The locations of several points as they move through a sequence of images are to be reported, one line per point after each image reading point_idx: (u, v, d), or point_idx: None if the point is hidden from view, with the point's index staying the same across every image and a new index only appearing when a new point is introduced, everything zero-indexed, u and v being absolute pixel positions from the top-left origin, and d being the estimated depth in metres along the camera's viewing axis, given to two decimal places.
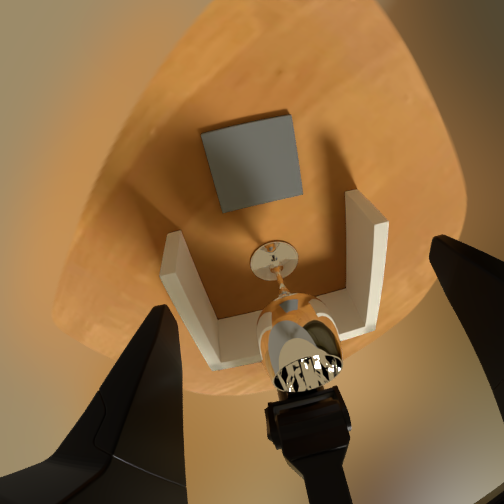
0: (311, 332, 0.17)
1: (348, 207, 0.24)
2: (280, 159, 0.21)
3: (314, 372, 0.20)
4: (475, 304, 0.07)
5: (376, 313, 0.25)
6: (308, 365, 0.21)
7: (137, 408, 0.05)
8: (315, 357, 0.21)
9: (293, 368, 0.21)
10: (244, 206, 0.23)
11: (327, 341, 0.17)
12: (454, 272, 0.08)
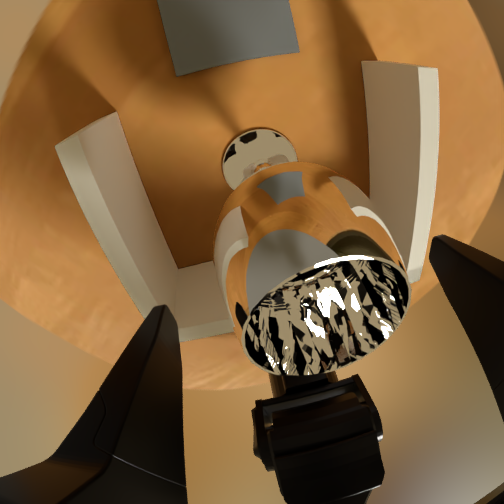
0: (336, 207, 0.07)
1: (369, 80, 0.14)
2: (262, 1, 0.11)
3: (338, 334, 0.10)
4: (475, 304, 0.07)
5: (424, 247, 0.15)
6: (324, 322, 0.11)
7: (137, 408, 0.05)
8: (337, 306, 0.11)
9: (293, 329, 0.11)
10: (209, 65, 0.13)
11: (377, 231, 0.07)
12: (454, 272, 0.08)
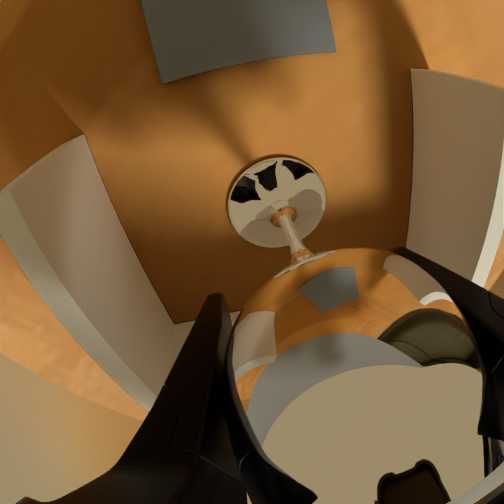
0: (452, 393, 0.03)
1: (421, 95, 0.10)
2: None
3: None
4: None
5: None
6: None
7: (213, 400, 0.05)
8: None
9: None
10: (209, 67, 0.09)
11: (494, 412, 0.03)
12: None
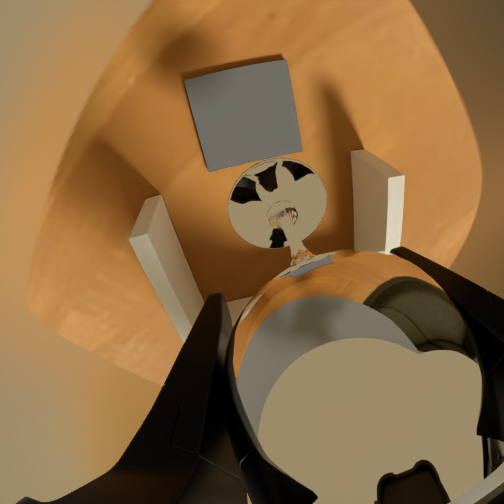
0: (452, 395, 0.03)
1: (355, 169, 0.20)
2: (274, 109, 0.17)
3: None
4: None
5: None
6: None
7: (213, 400, 0.05)
8: None
9: None
10: (234, 164, 0.19)
11: (493, 414, 0.03)
12: None
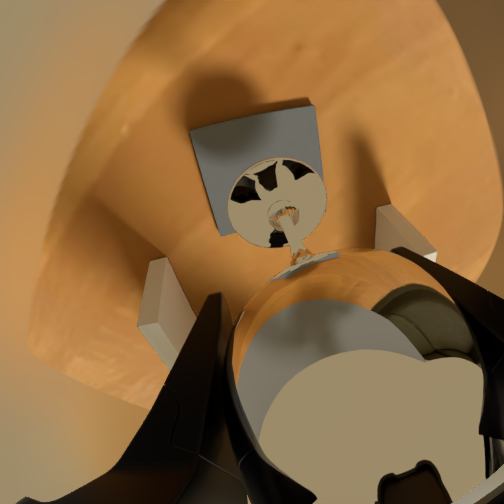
0: (454, 395, 0.03)
1: (380, 227, 0.18)
2: None
3: None
4: None
5: None
6: None
7: (213, 400, 0.05)
8: None
9: None
10: None
11: (495, 414, 0.03)
12: None
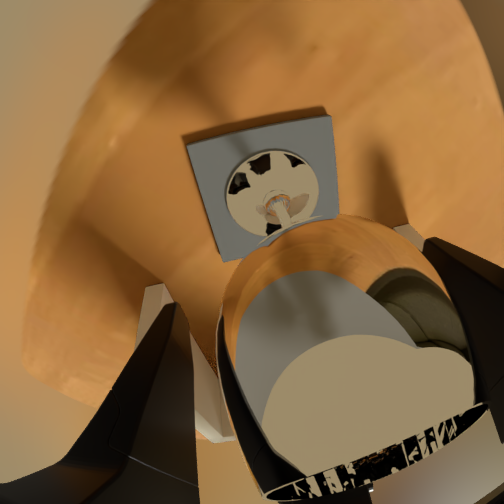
0: (421, 322, 0.04)
1: None
2: None
3: None
4: (467, 308, 0.07)
5: None
6: None
7: (152, 407, 0.05)
8: None
9: None
10: None
11: (469, 351, 0.04)
12: (446, 275, 0.08)
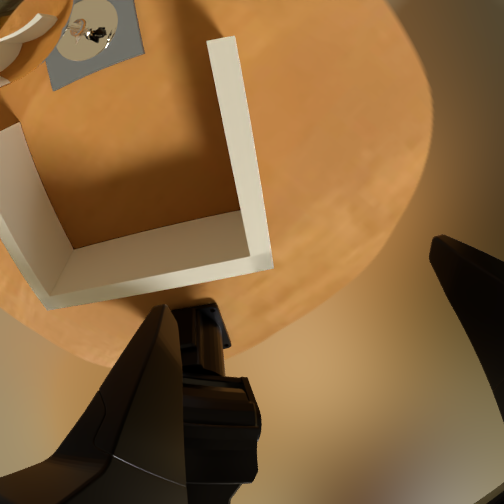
0: None
1: None
2: None
3: None
4: (475, 304, 0.07)
5: (265, 231, 0.16)
6: None
7: (137, 408, 0.05)
8: (21, 59, 0.06)
9: None
10: (74, 78, 0.13)
11: None
12: (454, 272, 0.08)
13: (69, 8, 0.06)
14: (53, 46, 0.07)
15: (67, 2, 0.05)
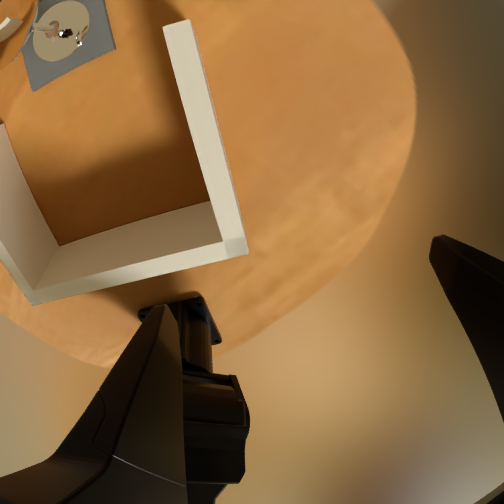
0: None
1: None
2: None
3: None
4: (475, 304, 0.07)
5: (235, 213, 0.15)
6: None
7: (137, 408, 0.05)
8: None
9: None
10: (51, 78, 0.13)
11: None
12: (454, 272, 0.08)
13: (31, 9, 0.05)
14: (19, 45, 0.06)
15: (29, 4, 0.05)
